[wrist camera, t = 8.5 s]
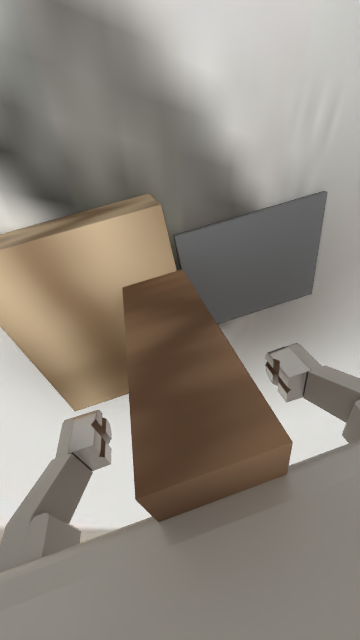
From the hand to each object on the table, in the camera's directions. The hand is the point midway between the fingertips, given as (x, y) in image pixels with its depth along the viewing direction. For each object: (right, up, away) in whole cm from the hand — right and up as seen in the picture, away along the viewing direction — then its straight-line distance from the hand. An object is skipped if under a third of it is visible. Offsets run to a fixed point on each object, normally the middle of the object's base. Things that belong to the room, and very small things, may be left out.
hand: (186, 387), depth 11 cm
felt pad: (+6, +8, +9) cm, 13 cm away
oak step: (-6, +5, +7) cm, 11 cm away
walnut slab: (-1, +3, +4) cm, 5 cm away
